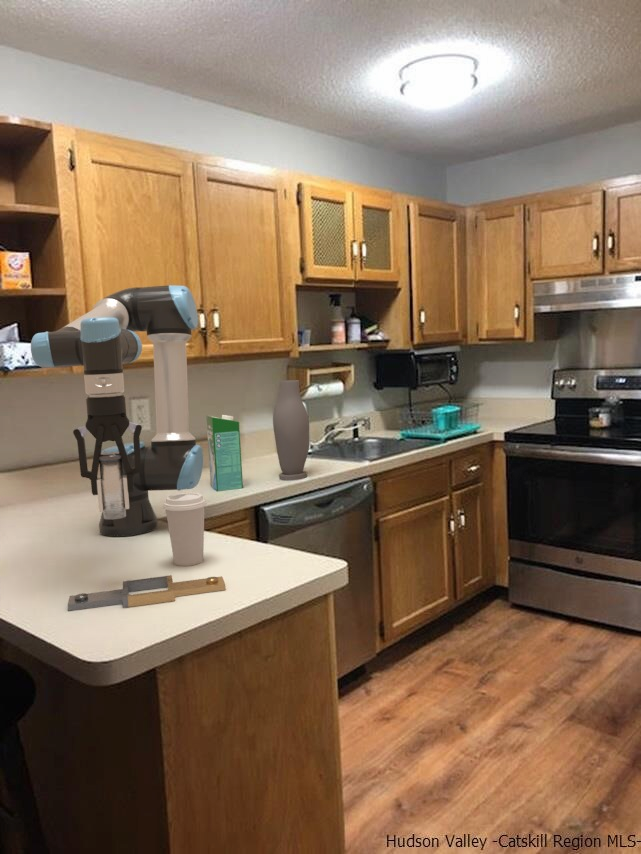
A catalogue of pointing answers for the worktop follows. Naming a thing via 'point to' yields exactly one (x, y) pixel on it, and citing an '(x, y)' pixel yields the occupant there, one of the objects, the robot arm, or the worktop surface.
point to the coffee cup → (186, 527)
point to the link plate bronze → (177, 590)
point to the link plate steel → (114, 594)
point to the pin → (112, 485)
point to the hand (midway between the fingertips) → (114, 508)
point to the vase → (291, 431)
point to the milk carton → (224, 453)
